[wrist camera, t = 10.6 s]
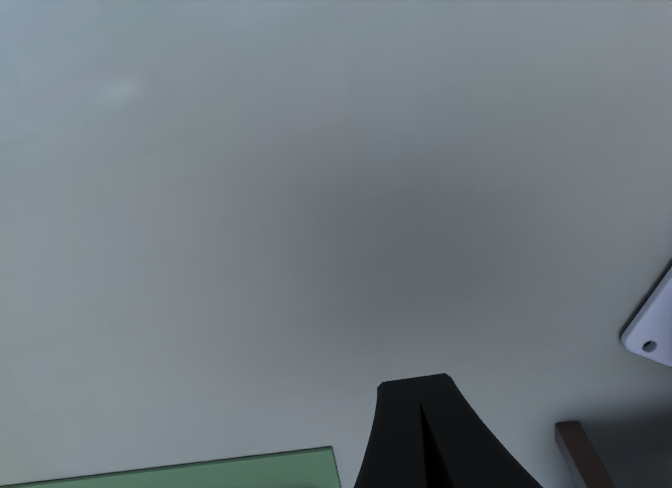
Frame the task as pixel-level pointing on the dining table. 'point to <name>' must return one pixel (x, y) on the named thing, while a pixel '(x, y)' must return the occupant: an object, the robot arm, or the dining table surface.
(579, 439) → the table
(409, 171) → the dining table surface
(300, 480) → the mat
